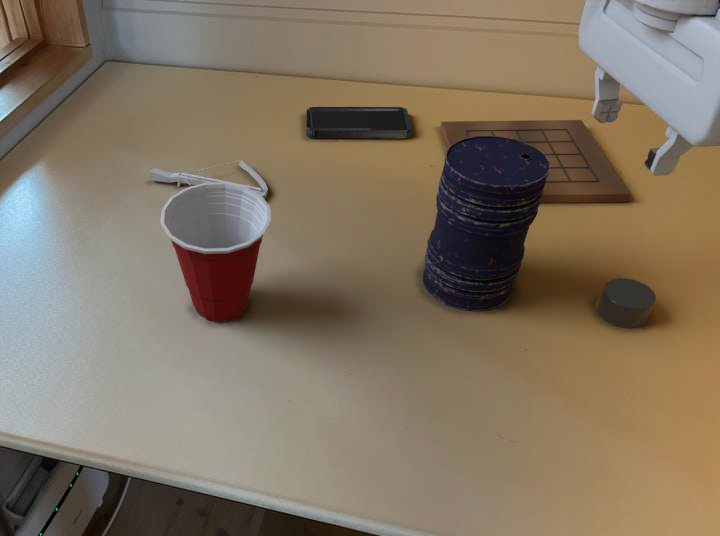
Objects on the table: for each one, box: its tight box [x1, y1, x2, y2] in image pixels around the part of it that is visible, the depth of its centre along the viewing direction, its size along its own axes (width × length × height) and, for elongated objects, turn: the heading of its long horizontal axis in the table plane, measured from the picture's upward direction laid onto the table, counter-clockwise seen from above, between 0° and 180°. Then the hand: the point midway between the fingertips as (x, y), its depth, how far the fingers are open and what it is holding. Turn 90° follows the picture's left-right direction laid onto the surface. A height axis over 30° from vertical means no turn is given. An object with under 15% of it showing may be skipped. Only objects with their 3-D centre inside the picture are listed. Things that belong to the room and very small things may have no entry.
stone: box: [595, 277, 657, 329], centre depth 73 cm, size 5×5×3 cm
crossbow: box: [149, 159, 269, 201], centre depth 94 cm, size 16×13×2 cm
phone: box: [305, 106, 412, 139], centre depth 105 cm, size 8×1×15 cm
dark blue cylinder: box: [422, 136, 550, 312], centre depth 73 cm, size 10×10×15 cm
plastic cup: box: [160, 181, 272, 323], centre depth 73 cm, size 11×11×12 cm
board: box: [439, 119, 632, 204], centre depth 96 cm, size 20×20×1 cm
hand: (628, 144), depth 62 cm, fingers open, 8 cm apart
